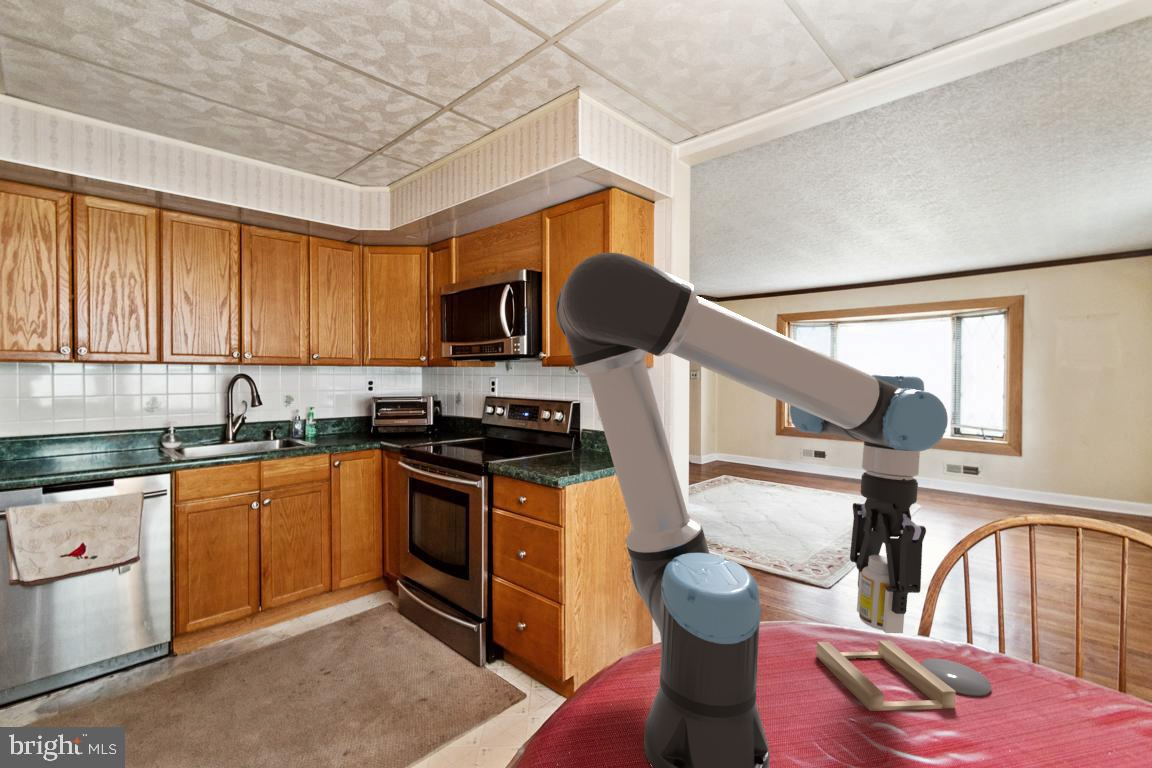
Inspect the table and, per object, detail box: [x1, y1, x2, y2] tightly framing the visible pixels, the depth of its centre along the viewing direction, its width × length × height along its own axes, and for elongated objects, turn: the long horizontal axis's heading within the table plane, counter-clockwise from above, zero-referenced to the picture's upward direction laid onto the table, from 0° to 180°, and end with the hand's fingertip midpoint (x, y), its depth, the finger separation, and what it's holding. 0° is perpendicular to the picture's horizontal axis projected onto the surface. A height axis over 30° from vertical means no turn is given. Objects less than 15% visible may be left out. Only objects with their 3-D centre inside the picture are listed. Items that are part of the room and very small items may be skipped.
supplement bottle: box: [858, 554, 899, 631], centre depth 81 cm, size 6×6×10 cm
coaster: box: [920, 658, 992, 697], centre depth 83 cm, size 9×9×1 cm
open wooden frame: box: [816, 639, 957, 712], centre depth 82 cm, size 13×14×2 cm
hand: (878, 621), depth 81 cm, fingers closed on supplement bottle, 6 cm apart
